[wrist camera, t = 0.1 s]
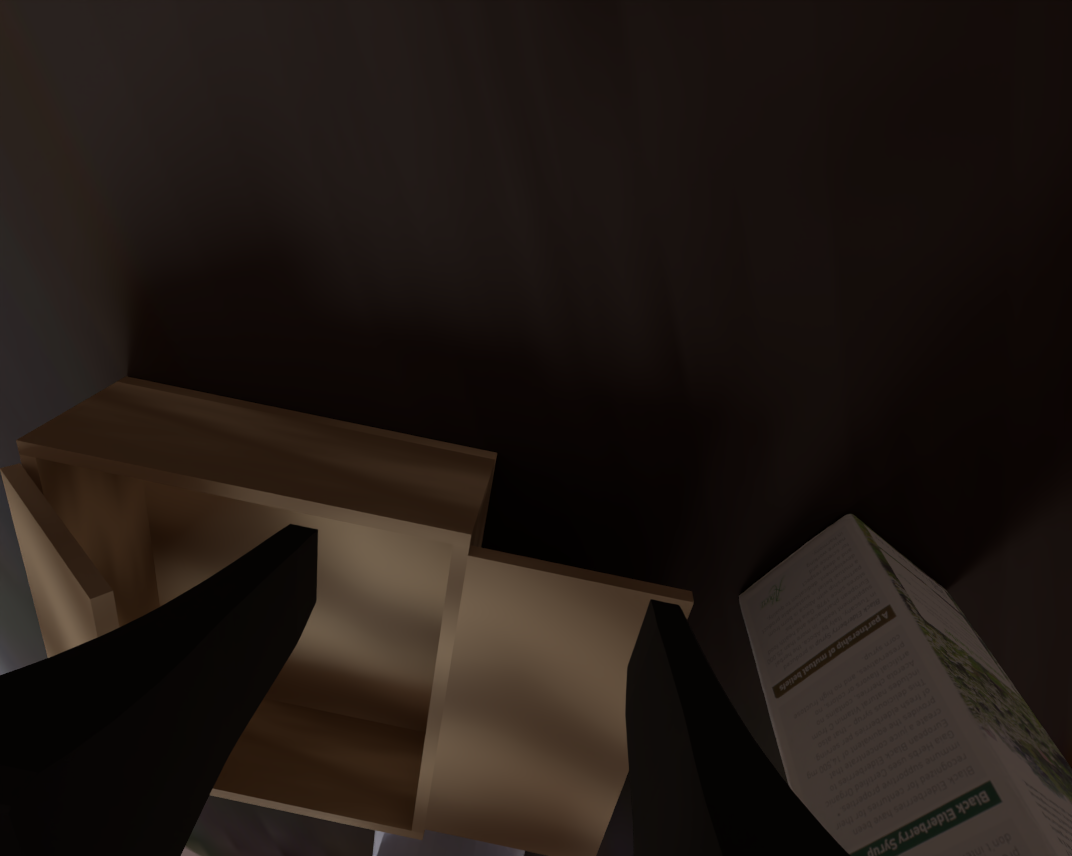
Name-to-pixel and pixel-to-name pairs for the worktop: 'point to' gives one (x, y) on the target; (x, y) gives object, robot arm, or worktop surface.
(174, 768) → the robot arm
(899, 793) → the syrup box
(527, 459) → the worktop surface
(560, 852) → the carton
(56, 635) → the carton flap
